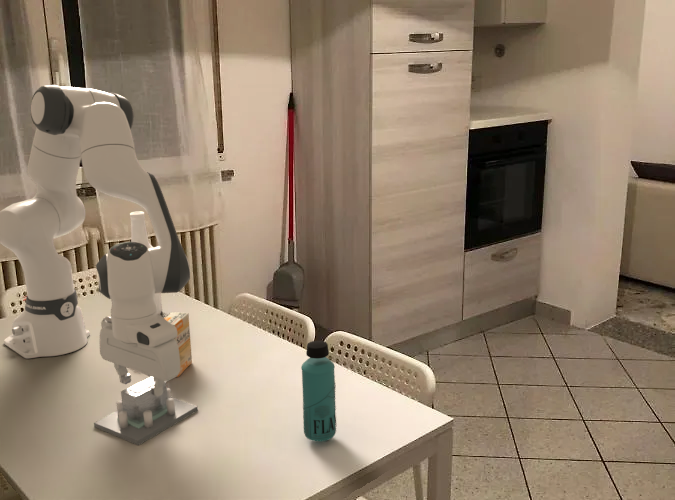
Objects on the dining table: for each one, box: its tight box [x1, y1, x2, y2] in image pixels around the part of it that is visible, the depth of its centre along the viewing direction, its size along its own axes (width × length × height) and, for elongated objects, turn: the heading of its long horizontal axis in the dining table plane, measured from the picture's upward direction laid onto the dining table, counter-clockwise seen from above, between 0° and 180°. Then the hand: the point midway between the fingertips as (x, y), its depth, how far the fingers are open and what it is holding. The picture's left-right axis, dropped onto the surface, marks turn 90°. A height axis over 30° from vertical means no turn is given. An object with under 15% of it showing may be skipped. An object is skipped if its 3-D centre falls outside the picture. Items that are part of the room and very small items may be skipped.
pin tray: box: [93, 387, 198, 446], centre depth 144 cm, size 13×16×4 cm
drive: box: [120, 376, 168, 424], centre depth 144 cm, size 4×8×6 cm, turn 146°
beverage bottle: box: [300, 340, 338, 442], centre depth 133 cm, size 6×7×20 cm
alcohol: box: [129, 210, 163, 315], centre depth 199 cm, size 9×9×30 cm
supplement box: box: [163, 311, 193, 378], centre depth 165 cm, size 8×5×13 cm, turn 168°
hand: (141, 388), depth 143 cm, fingers open, 8 cm apart
